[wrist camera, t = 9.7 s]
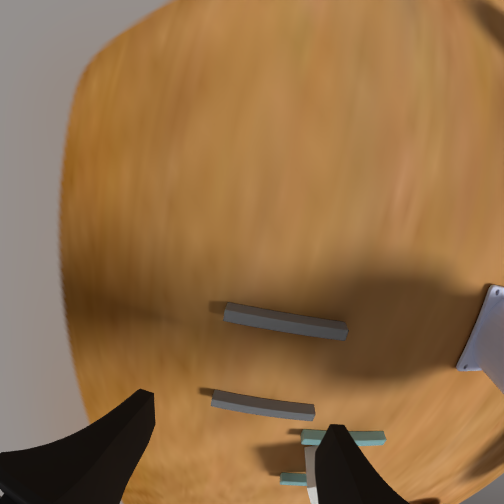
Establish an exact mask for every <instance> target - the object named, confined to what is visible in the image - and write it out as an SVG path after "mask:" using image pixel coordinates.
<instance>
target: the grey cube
mask: <svg viewBox="0 0 504 504" xmlns="http://www.w3.org/2000/svg"><path fill="white" fill-rule="evenodd" d="M318 446H319V445H316V446H310V447H304V449H305V462H306V477H307V490H308V494H309V498H310V502H311V504H318V496H317V488H316V480H315V451H316V449H317V448H318Z"/></svg>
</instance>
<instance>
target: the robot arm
mask: <svg viewBox="0 0 504 504" xmlns="http://www.w3.org/2000/svg"><path fill="white" fill-rule="evenodd" d="M496 291H497V292H496ZM456 369H457V370H458V371H479V370H483V371H484V372H485V373H486V375H487V376H488V377H489V378H490V379H491V380H492V381H493V383H494V384H495V385H496V386H497V387H498V388H499V389H500V391H501V392H502V393H503V394H504V287H502V286H498V285H491V286H490V287H489V289H488V292H487V295H486V298H485V301H484V303H483V306H482V309H481V311H480V314H479V317H478V319H477V322H476V324H475V326H474V329H473V331H472V333H471V336H470V338H469V340H468V342H467V345H466V347H465V349H464V351H463V353H462V355H461V357H460V359H459V361H458V363H457V366H456ZM154 426H155V408H154V393H152V392H149V391H146V390H143V389H139V390H137V391H136V392H135V393H134V394H132V395H131V396H130V397H129V398H127V399H126V400H125V401H124V402H122V403H121V404H120V405H119V406H117V407H116V408H115V409H113V410H112V411H110V412H109V413H108V414H106V415H105V416H103V417H102V418H100V419H99V420H97V421H96V422H94V423H92V424H91V425H89V426H87V427H86V428H84V429H82V430H80V431H78V432H76V433H74V434H72V435H70V436H67V437H65V438H63V439H60V440H57V441H55V442H52V443H49V444H46V445H42V446H38V447H34V448H30V449H25V450H19V451H11V452H1V453H0V489H1V490H2V492H4V494H3V496H2V497H1V496H0V504H120V501H121V498H122V495H123V493H124V490H125V487H126V485H127V483H128V481H129V479H130V477H131V475H132V473H133V471H134V469H135V468H136V466H137V464H138V462H139V460H140V458H141V456H142V454H143V453H144V451H145V449H146V447H147V445H148V443H149V440H150V438H151V435H152V432H153V429H154ZM315 480H316V488H317V496H318V504H409V503H408V502H407V501H406V500H404V499H403V498H402V497H401V496H399V495H398V494H397V493H396V492H395V491H394V490H393V489H392V488H391V487H390V486H389V485H388V484H387V483H386V482H385V481H384V480H383V479H382V478H381V476H380V475H379V474H378V473H377V472H376V470H375V469H374V468H373V467H372V465H371V464H370V463H369V461H368V460H367V458H366V457H365V456H364V454H363V453H362V451H361V450H360V448H359V447H358V445H357V444H356V442H355V441H354V439H353V438H352V436H351V435H350V433H349V432H348V430H347V429H346V427H345V426H344V425H338V424H330V426H329V427H328V429H327V431H326V433H325V435H324V437H323V439H322V440H321V442H320V444H319V446H318V448H317V449H316V451H315Z"/></svg>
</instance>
